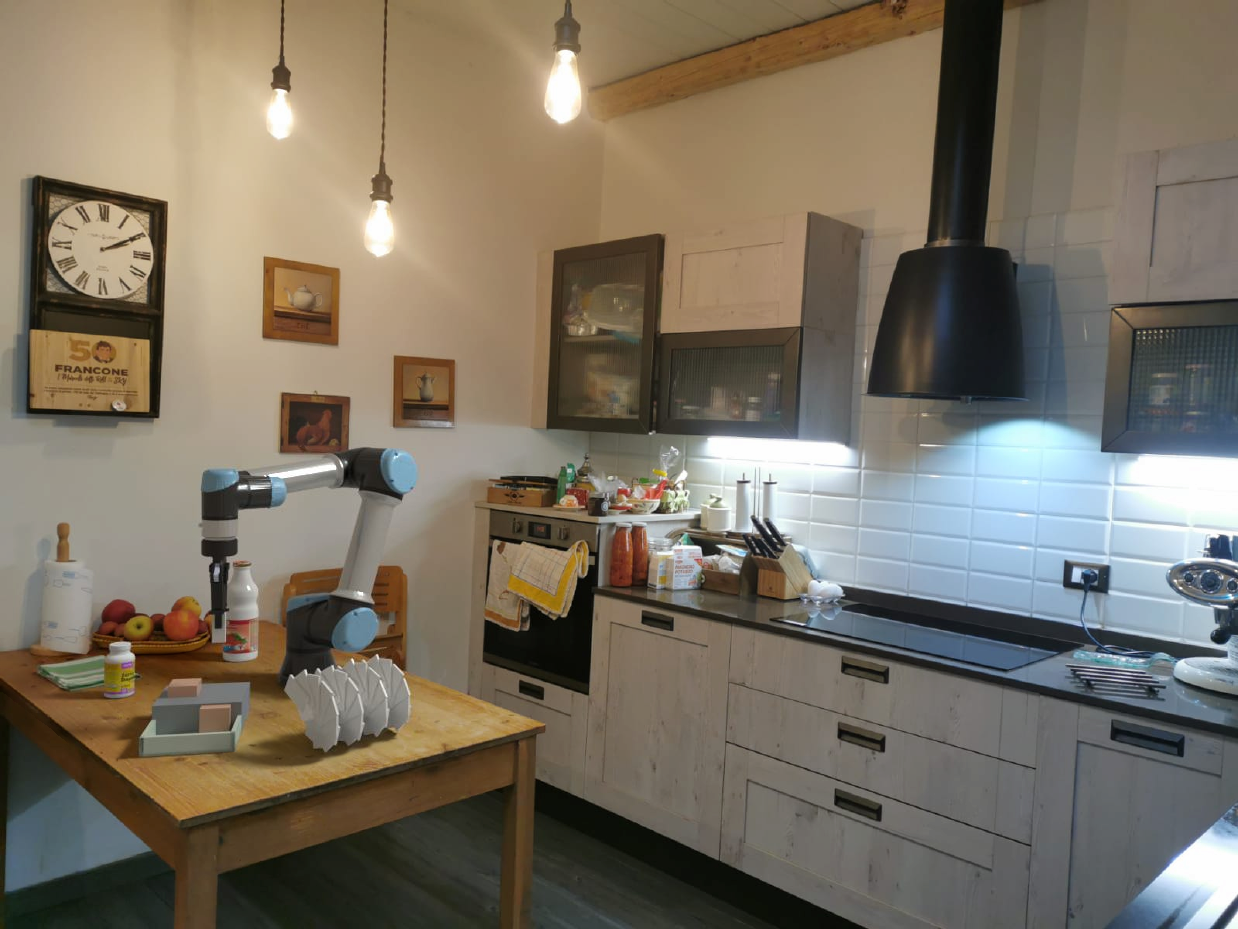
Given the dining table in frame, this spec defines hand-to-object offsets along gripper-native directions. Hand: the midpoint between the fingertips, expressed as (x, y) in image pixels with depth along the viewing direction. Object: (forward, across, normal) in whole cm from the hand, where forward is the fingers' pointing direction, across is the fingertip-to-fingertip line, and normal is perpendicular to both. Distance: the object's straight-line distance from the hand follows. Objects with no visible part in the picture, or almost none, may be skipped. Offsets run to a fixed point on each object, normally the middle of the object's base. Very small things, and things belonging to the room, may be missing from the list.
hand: (218, 641), depth 204 cm
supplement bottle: (+19, -28, -26) cm, 43 cm away
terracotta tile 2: (+12, -2, -7) cm, 14 cm away
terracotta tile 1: (+16, +6, 0) cm, 17 cm away
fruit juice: (+20, -59, -1) cm, 62 cm away
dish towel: (+20, -48, -37) cm, 63 cm away
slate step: (+19, -2, -3) cm, 19 cm away
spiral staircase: (+20, +16, +29) cm, 38 cm away
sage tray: (+19, +12, -4) cm, 23 cm away
